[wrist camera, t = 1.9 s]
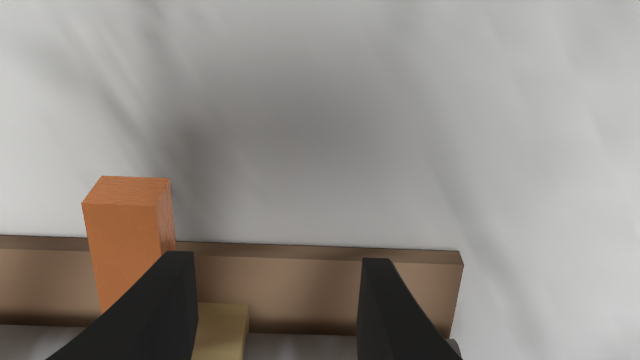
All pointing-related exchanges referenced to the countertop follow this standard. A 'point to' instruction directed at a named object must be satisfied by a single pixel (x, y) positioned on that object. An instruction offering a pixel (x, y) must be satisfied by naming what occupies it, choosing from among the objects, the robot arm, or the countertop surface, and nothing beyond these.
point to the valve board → (221, 297)
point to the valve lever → (127, 231)
